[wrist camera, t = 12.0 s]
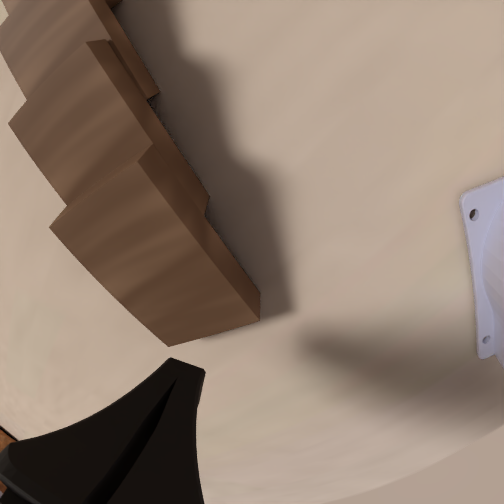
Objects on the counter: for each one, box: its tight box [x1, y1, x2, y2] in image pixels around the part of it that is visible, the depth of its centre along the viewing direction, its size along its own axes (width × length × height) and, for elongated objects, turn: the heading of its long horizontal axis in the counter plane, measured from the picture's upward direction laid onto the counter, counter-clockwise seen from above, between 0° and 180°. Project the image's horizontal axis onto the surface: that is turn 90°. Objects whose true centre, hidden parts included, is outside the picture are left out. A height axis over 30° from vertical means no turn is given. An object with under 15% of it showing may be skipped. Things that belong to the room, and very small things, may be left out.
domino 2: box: [8, 39, 210, 215], centre depth 11 cm, size 2×5×8 cm
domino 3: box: [49, 144, 260, 347], centre depth 12 cm, size 2×5×8 cm
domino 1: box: [0, 0, 160, 100], centre depth 10 cm, size 2×5×8 cm
